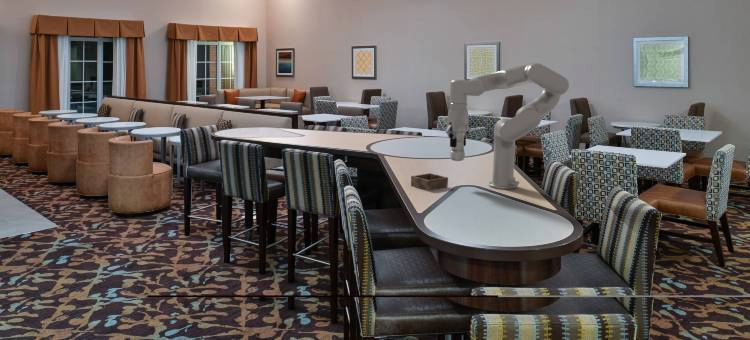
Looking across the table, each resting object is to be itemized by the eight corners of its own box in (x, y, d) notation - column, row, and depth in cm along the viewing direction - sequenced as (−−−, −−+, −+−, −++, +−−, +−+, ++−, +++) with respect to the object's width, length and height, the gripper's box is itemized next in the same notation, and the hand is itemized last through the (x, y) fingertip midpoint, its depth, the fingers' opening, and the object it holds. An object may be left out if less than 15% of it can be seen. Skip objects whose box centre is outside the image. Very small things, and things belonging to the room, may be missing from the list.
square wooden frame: (447, 187, 265) (447, 177, 264) (428, 190, 258) (428, 180, 257) (429, 182, 275) (430, 173, 274) (410, 185, 267) (411, 176, 266)
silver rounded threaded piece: (451, 159, 270) (451, 117, 266) (465, 159, 268) (466, 117, 264) (449, 161, 264) (449, 118, 260) (463, 162, 262) (464, 118, 258)
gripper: (465, 105, 269) (464, 143, 273) (439, 107, 259) (438, 147, 262) (477, 106, 263) (476, 145, 267) (450, 109, 253) (450, 149, 256)
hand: (457, 145), depth 264 cm, fingers closed on silver rounded threaded piece, 5 cm apart
